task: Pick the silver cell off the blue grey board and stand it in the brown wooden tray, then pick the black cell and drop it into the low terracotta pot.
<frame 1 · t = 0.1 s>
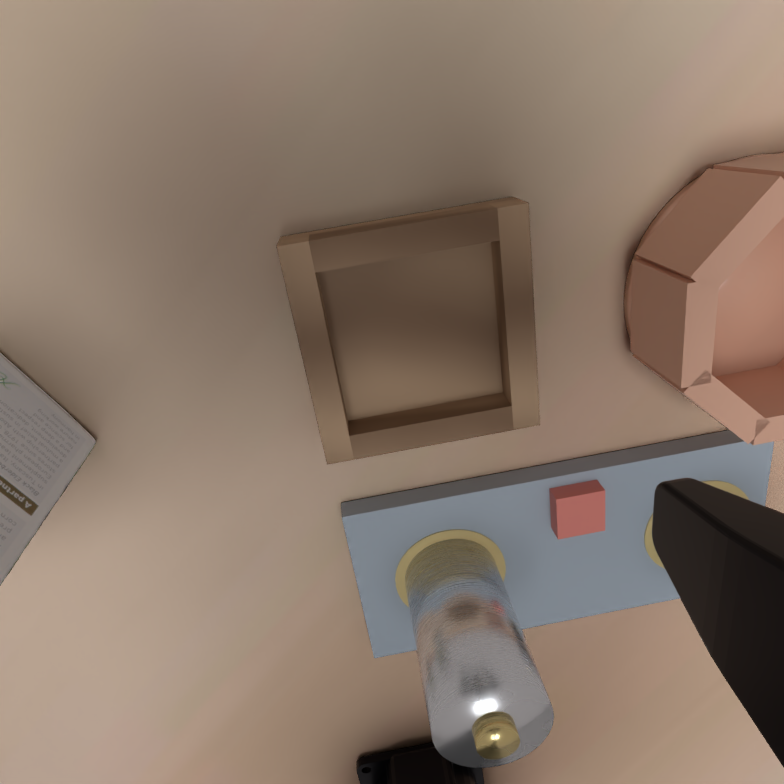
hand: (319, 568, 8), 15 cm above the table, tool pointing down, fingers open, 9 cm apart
brown wooden tray: (412, 327, 22), on the table
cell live: (451, 576, 25), point 1 cm above the table, touching blue grey board
blue grey board: (555, 538, 27), on the table
pot: (739, 281, 22), on the table
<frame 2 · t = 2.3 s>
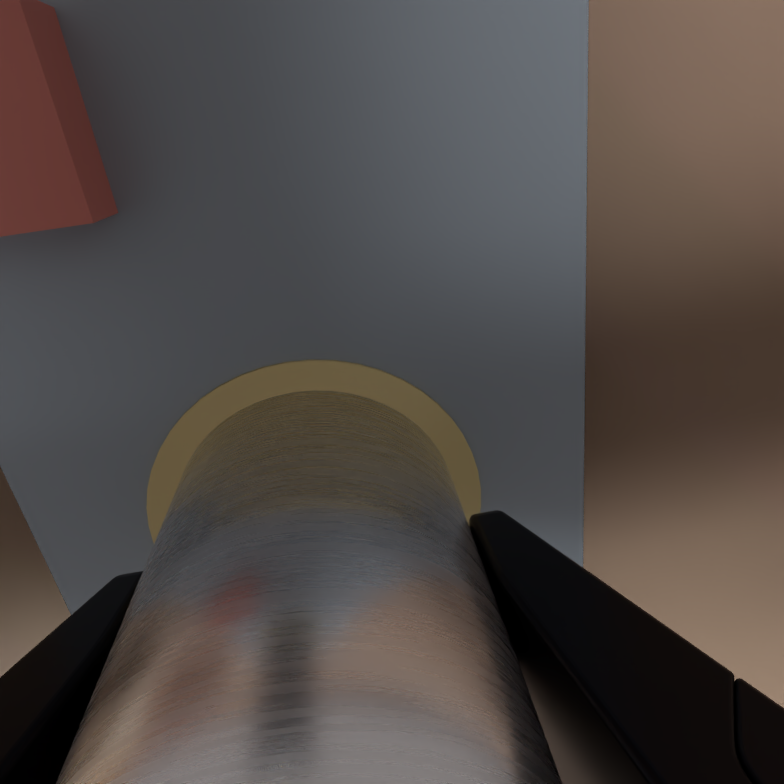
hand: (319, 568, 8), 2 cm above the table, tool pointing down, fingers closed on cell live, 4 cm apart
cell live: (319, 516, 9), point 1 cm above the table, touching blue grey board, gripper
blue grey board: (249, 144, 7), on the table
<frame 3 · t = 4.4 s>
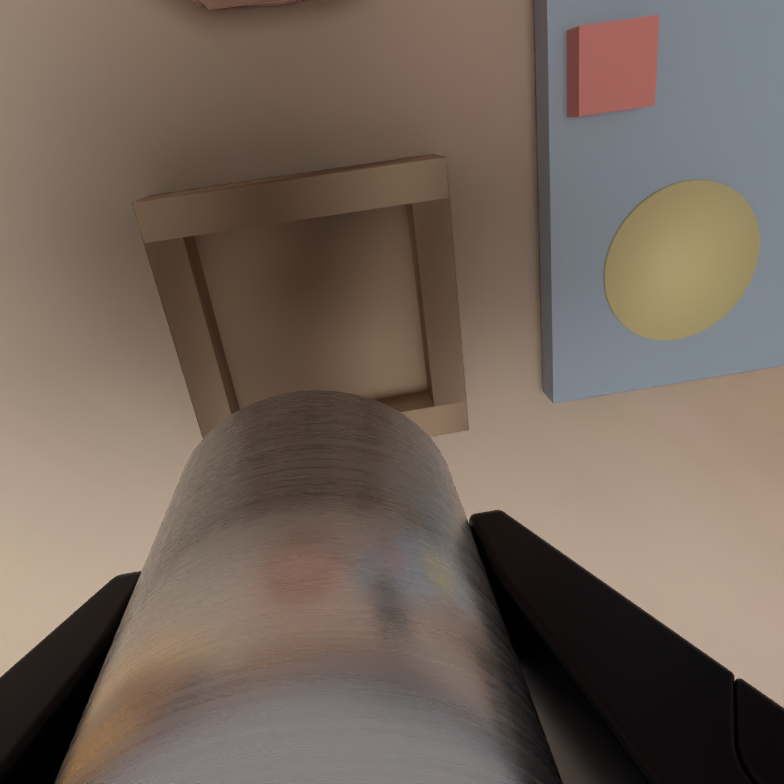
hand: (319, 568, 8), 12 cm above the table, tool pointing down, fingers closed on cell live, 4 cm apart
brown wooden tray: (319, 311, 18), on the table
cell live: (319, 516, 9), point 11 cm above the table, touching gripper
blue grey board: (674, 80, 17), on the table
when the fingers open (3 cm above the table, at t = 6.2 s): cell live drops 1 cm, resting on brown wooden tray.
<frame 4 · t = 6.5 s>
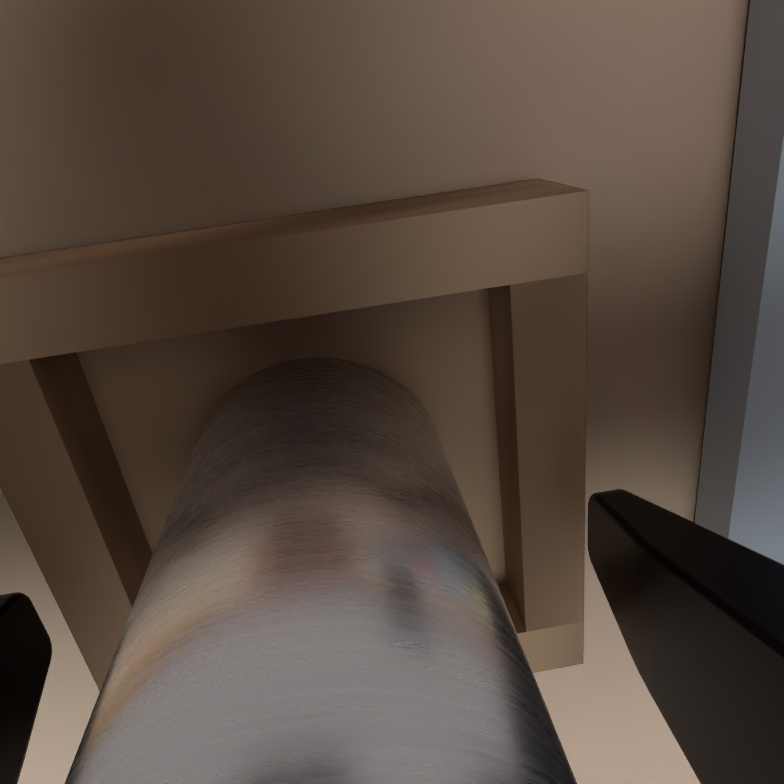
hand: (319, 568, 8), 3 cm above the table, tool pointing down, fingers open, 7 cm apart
brown wooden tray: (318, 455, 10), on the table
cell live: (320, 472, 10), point 1 cm above the table, touching brown wooden tray
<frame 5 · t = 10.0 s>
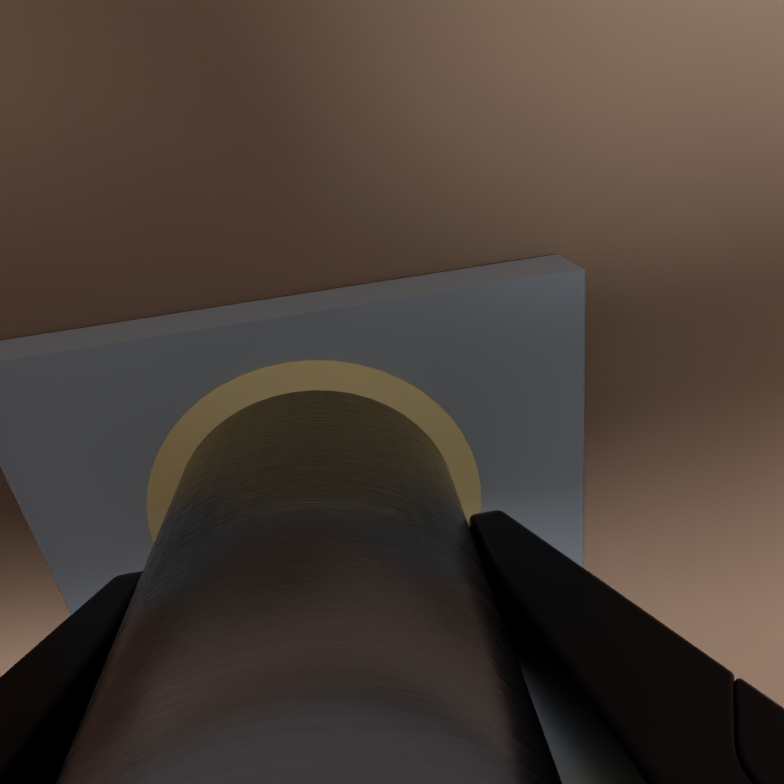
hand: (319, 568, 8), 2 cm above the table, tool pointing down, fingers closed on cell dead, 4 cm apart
blue grey board: (372, 721, 12), on the table
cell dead: (319, 515, 9), point 1 cm above the table, touching blue grey board, gripper
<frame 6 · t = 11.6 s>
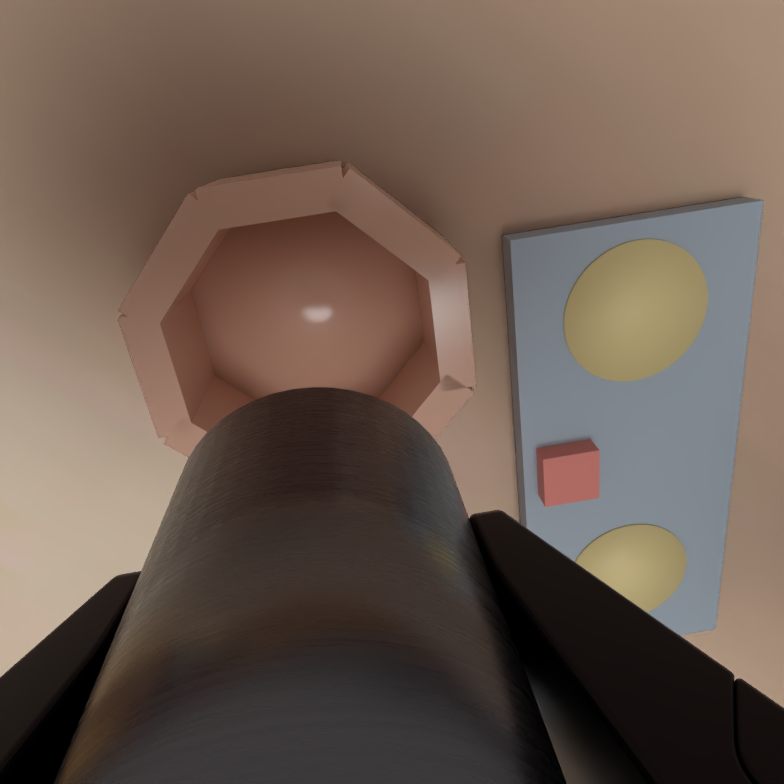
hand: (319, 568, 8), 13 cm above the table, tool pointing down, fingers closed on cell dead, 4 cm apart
blue grey board: (618, 454, 23), on the table
pot: (312, 311, 20), on the table
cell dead: (319, 513, 9), point 12 cm above the table, touching gripper
when the fingers open (5 cm above the table, at t = 13.4 s): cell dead drops 3 cm, resting on pot.
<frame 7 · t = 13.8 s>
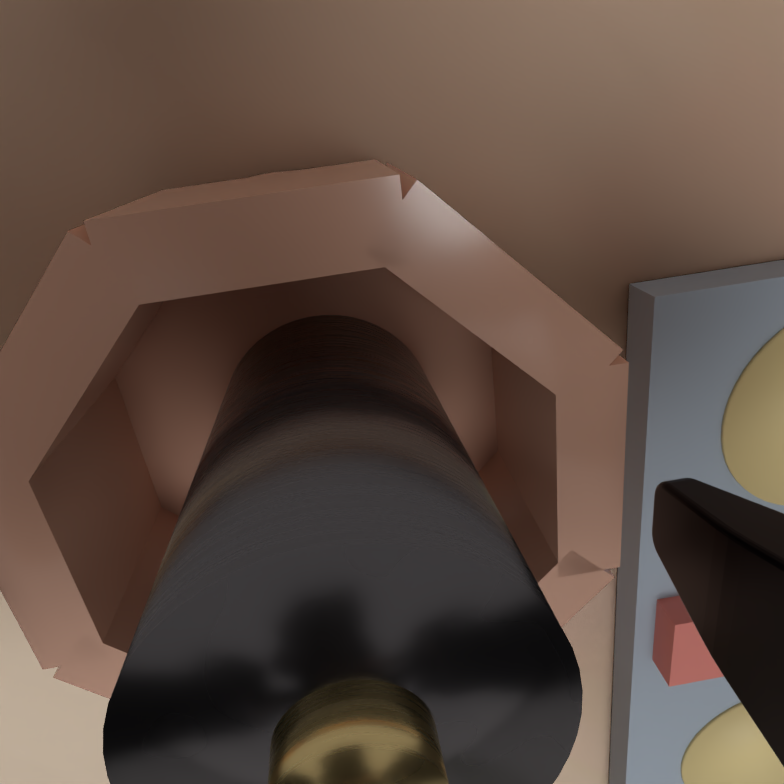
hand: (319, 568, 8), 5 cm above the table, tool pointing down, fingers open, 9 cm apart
blue grey board: (761, 591, 16), on the table
pot: (319, 403, 12), on the table
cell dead: (330, 415, 11), point 1 cm above the table, touching pot
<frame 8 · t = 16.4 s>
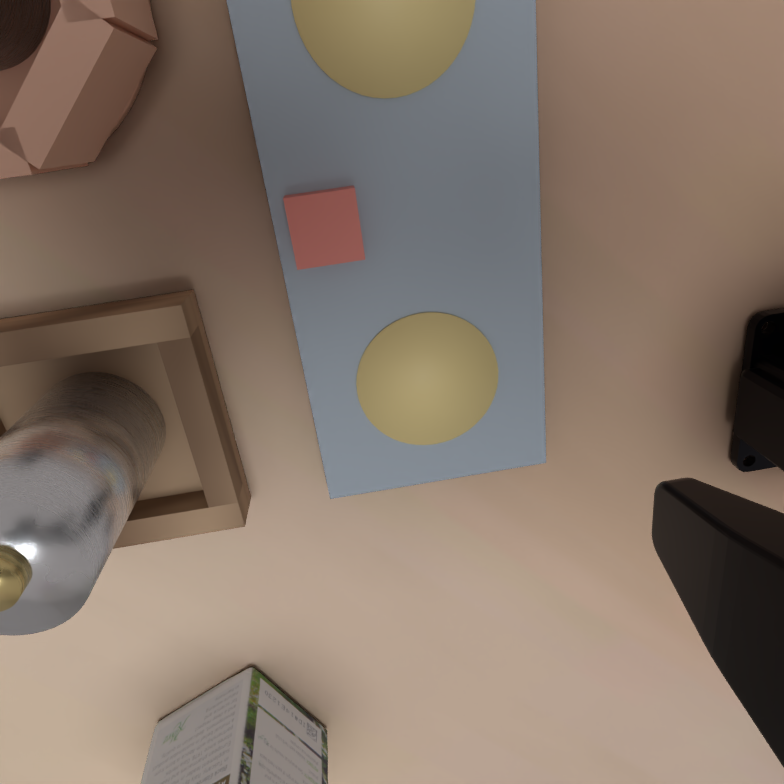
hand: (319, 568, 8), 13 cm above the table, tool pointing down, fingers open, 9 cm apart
brown wooden tray: (108, 420, 20), on the table
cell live: (103, 427, 20), point 1 cm above the table, touching brown wooden tray
blue grey board: (406, 225, 19), on the table
syrup box: (245, 719, 27), on the table
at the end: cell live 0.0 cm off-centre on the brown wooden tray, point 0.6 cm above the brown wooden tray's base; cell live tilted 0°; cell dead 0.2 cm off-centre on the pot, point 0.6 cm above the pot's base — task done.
